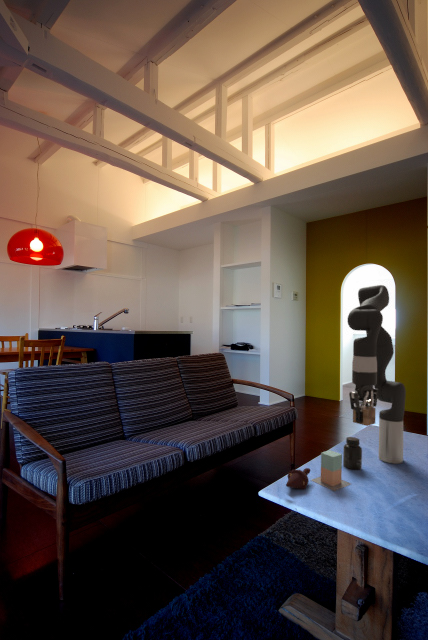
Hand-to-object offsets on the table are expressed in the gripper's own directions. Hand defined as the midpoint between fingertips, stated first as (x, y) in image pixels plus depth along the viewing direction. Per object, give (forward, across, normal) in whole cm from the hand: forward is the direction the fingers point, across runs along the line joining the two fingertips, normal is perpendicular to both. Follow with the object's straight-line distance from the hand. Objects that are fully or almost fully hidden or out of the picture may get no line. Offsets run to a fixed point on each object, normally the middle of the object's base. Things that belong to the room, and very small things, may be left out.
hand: (363, 421), depth 117 cm
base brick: (+24, +1, -12) cm, 27 cm away
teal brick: (+19, +1, -12) cm, 22 cm away
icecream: (+25, +14, -16) cm, 33 cm away
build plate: (+25, +1, -12) cm, 28 cm away
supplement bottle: (+25, -18, -15) cm, 35 cm away
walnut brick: (+1, 0, 0) cm, 1 cm away
